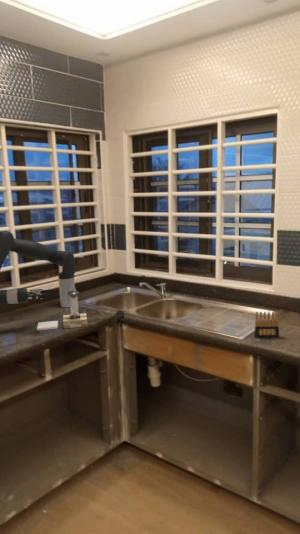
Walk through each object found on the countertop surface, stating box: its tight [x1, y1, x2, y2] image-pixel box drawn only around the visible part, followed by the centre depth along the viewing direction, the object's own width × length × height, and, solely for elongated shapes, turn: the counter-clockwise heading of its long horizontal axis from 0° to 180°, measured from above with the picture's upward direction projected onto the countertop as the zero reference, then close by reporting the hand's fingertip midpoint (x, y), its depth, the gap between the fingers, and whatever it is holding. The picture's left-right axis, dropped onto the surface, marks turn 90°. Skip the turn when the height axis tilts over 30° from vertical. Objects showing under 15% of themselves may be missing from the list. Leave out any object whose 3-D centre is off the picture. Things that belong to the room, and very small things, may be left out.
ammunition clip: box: [253, 311, 280, 339], centre depth 184 cm, size 11×2×12 cm, turn 86°
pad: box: [36, 320, 59, 331], centre depth 212 cm, size 10×10×1 cm
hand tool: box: [107, 309, 125, 328], centre depth 214 cm, size 19×4×5 cm, turn 164°
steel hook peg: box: [67, 290, 80, 319], centre depth 213 cm, size 6×6×17 cm
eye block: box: [62, 312, 89, 329], centre depth 214 cm, size 12×12×4 cm
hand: (50, 293), depth 209 cm, fingers open, 8 cm apart
